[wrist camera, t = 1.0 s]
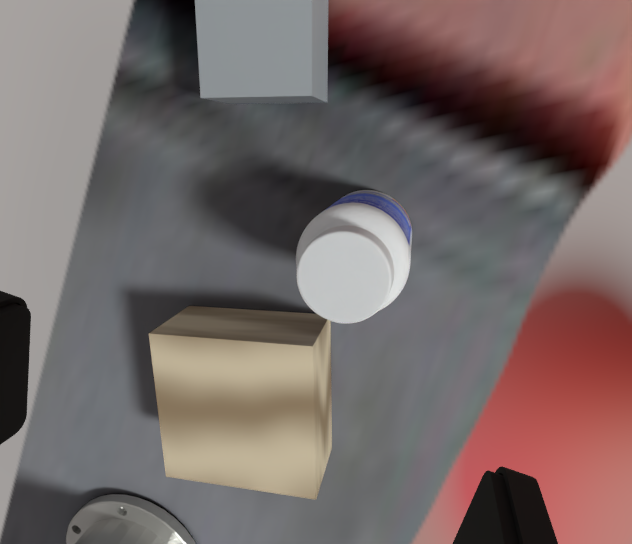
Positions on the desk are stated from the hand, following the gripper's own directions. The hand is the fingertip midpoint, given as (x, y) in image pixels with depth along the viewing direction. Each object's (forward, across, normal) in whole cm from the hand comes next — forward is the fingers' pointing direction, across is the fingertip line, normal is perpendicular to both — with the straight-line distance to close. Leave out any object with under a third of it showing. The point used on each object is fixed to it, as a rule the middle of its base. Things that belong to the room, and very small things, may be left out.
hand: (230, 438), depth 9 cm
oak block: (+20, +4, +12) cm, 24 cm away
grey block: (+21, +8, -9) cm, 24 cm away
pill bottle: (+20, 0, 0) cm, 21 cm away
